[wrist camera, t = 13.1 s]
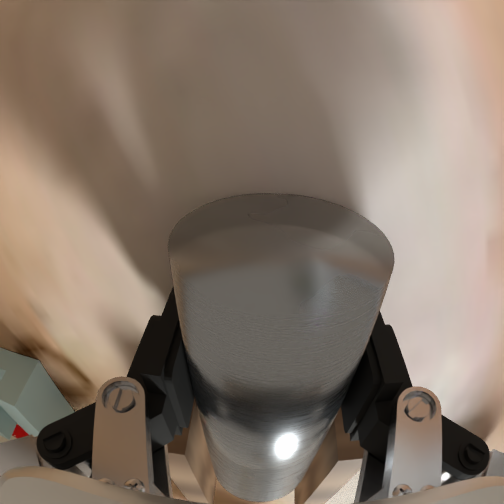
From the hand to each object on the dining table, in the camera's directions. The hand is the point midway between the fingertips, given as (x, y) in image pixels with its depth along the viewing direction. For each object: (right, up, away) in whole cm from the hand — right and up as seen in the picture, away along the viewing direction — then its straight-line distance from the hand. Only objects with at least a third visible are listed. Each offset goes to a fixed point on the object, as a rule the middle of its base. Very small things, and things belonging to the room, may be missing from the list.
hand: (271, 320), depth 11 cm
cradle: (-18, -8, +7) cm, 21 cm away
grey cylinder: (0, -2, +2) cm, 2 cm away
